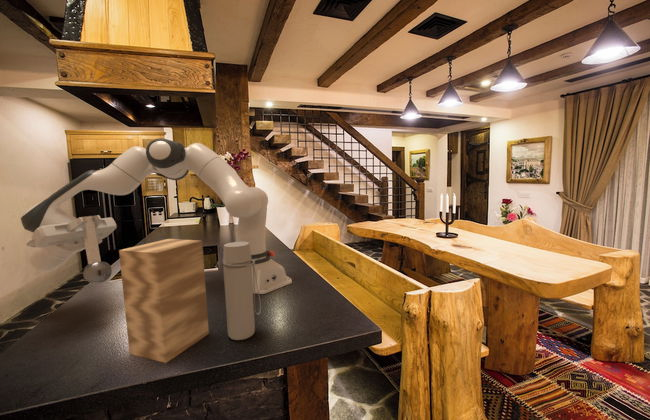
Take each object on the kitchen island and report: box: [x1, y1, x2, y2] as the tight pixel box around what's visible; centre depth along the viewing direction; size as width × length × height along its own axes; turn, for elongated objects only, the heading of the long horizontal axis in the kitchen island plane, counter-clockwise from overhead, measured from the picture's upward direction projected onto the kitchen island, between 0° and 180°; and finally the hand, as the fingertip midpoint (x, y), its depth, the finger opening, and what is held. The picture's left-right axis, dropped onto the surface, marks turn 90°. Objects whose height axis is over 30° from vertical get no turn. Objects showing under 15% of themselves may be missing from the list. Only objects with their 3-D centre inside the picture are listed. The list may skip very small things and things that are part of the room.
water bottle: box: [222, 241, 262, 341], centre depth 81 cm, size 9×8×25 cm
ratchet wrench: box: [81, 215, 113, 284], centre depth 88 cm, size 20×6×4 cm
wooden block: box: [118, 238, 210, 364], centre depth 78 cm, size 12×14×26 cm
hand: (90, 218), depth 87 cm, fingers closed on ratchet wrench, 2 cm apart
